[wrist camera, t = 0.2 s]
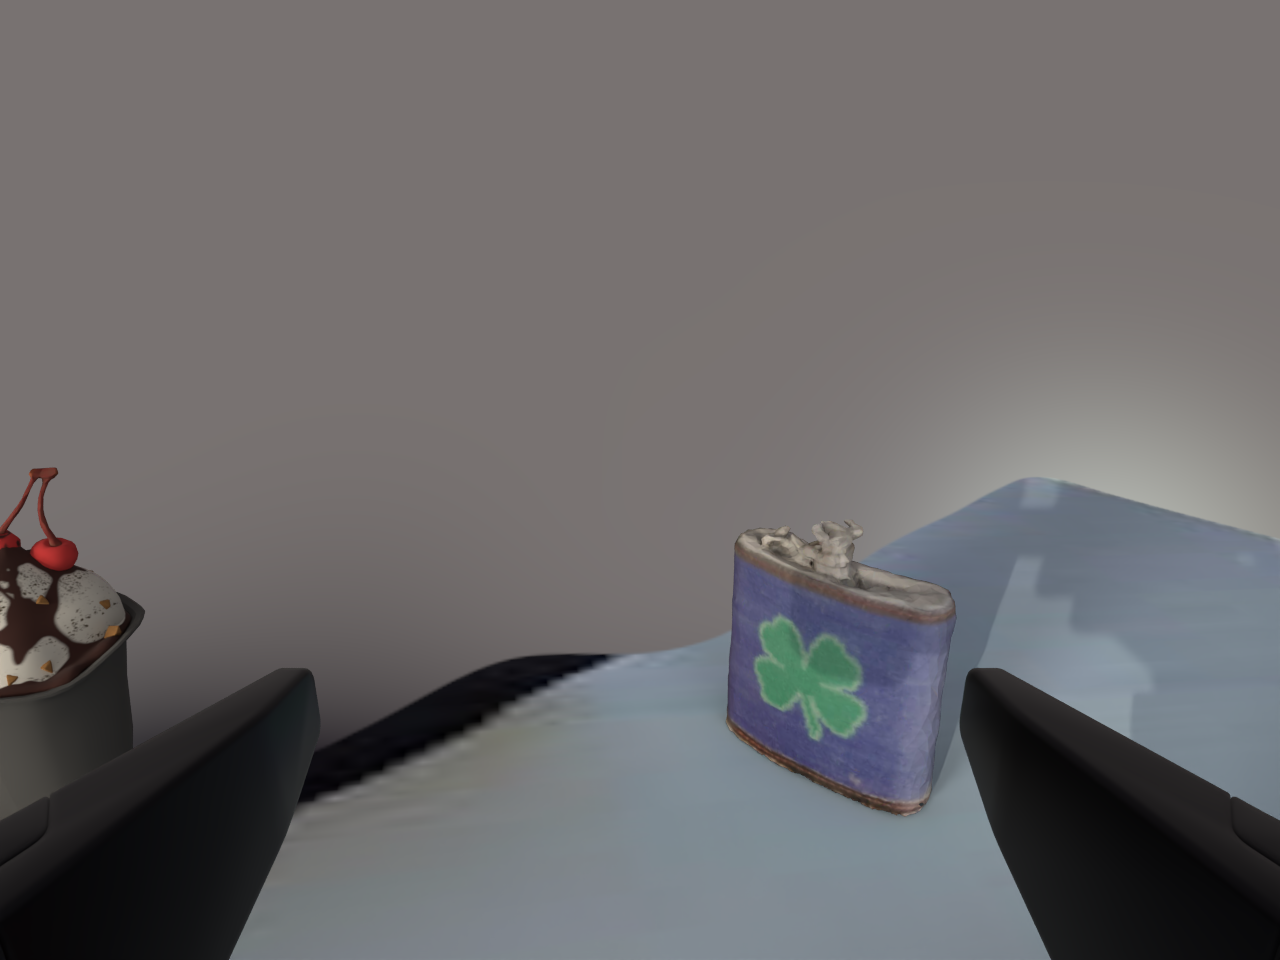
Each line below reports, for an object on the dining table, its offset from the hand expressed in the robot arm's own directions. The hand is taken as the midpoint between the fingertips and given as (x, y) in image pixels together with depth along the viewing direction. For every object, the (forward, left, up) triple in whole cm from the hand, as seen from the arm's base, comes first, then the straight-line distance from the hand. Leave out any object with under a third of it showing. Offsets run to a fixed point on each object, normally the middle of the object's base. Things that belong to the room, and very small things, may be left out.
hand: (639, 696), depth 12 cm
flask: (+19, -8, -17) cm, 26 cm away
